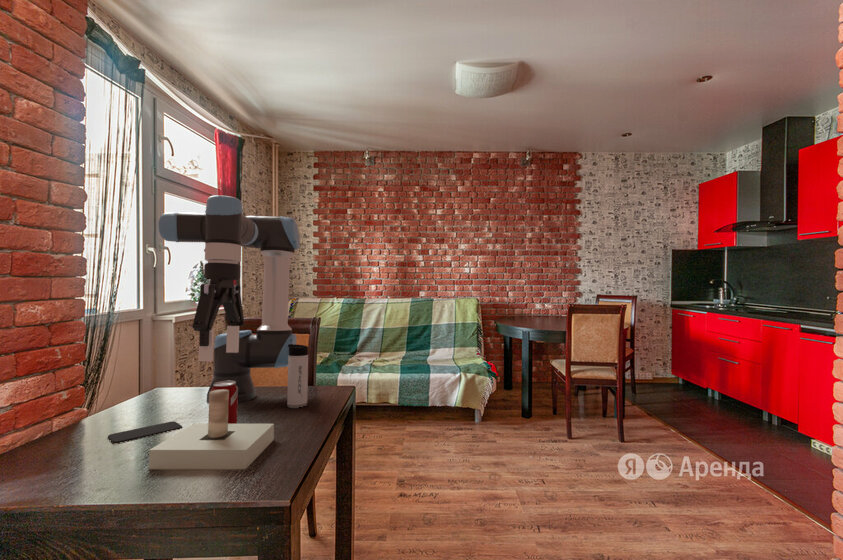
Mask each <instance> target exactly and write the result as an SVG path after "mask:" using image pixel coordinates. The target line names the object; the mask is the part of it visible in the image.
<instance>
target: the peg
mask: <svg viewBox="0 0 843 560" xmlns="http://www.w3.org/2000/svg"><path fill="white" fill-rule="evenodd" d="M228 402H229V390H224V389H223V390H214V391H211V392H209V403H208V420H207V422H208V423H207V424H208V440H225V439H226V438H227V437H228Z"/></svg>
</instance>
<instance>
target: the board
mask: <svg viewBox="0 0 843 560" xmlns="http://www.w3.org/2000/svg"><path fill="white" fill-rule="evenodd" d="M274 434H275V423H237V424H228V437H227V438H226V439H225V440H208V423H192V424H191V425H188V427H185V428H184V429H182V430H180V431H178V432H177V433H175V434H173V436H170V437H169V438H167V439H166V440H164V441H162V442H160V443H159V444H157V445H155V446H154V447H152V448H150V449H149V451H148V454H149V456H148V470H247V468H249V466H250V465H251V464H252V463H253V462H255V460H256V459H257V458H258V457H259V456H260V455H261V454H262V453H263V452H264V451H265V449H266V448H267V447H268V446H269V445H270V444H271V443H272V442H273V441H274V440H275V435H274Z"/></svg>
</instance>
